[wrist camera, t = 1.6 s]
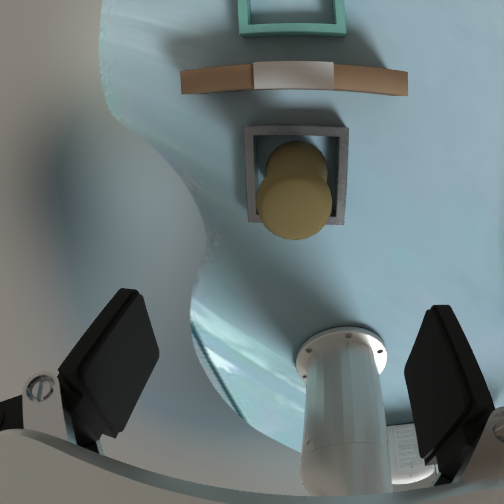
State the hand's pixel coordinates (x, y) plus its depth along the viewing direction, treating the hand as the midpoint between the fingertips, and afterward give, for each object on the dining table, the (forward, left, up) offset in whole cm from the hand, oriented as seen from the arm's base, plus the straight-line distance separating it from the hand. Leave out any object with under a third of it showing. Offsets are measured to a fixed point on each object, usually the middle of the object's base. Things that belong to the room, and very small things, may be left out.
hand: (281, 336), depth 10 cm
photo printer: (-46, -23, -23) cm, 56 cm away
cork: (0, 0, -23) cm, 23 cm away
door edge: (+9, 0, -22) cm, 24 cm away
